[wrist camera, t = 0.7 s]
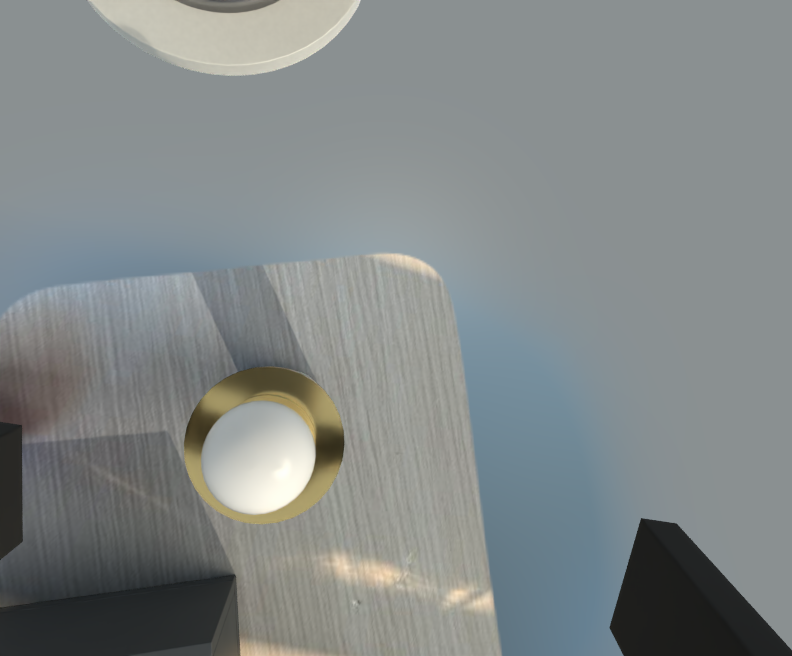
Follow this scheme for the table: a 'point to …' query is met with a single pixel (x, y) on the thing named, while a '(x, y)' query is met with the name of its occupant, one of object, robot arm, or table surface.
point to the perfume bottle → (264, 445)
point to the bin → (129, 623)
